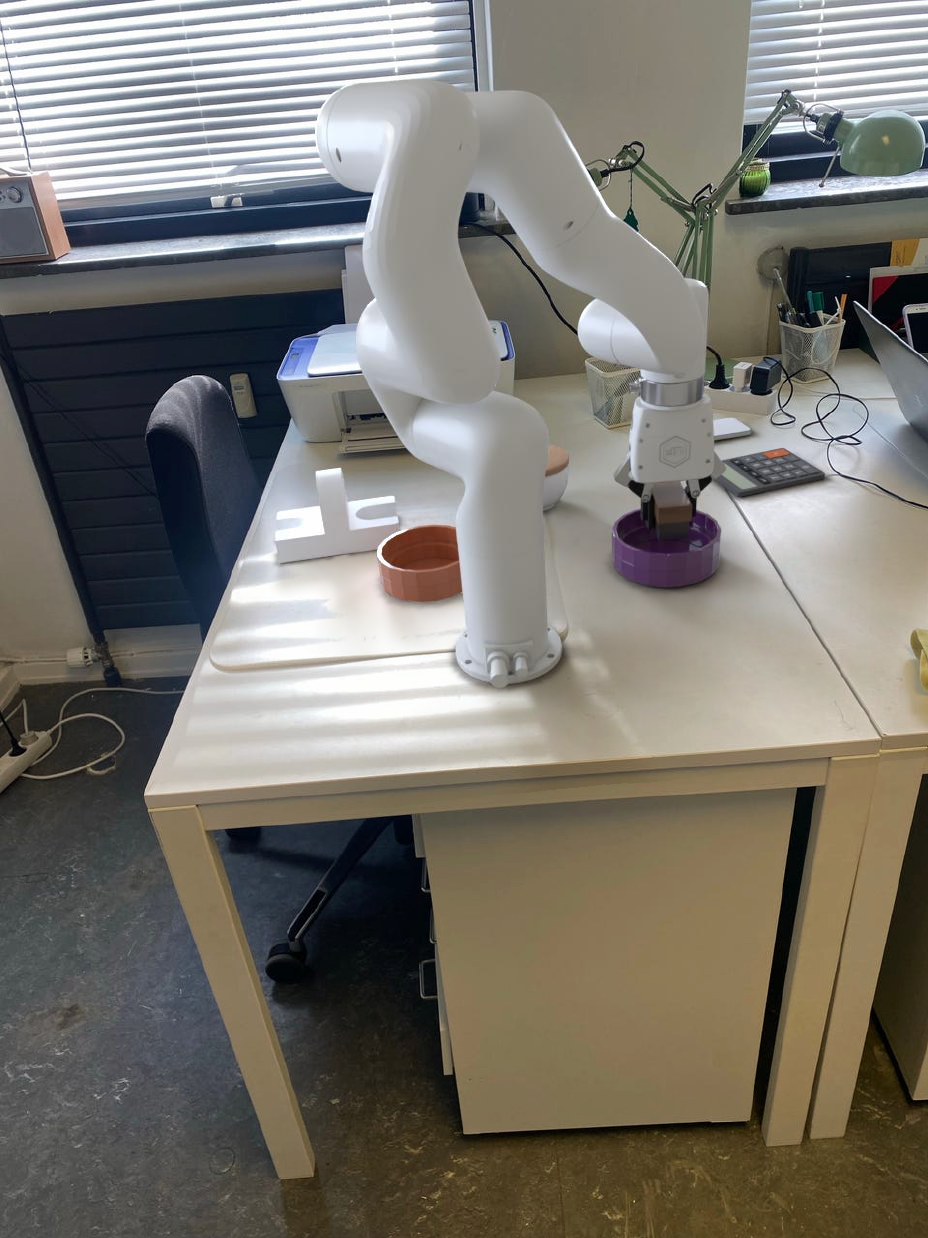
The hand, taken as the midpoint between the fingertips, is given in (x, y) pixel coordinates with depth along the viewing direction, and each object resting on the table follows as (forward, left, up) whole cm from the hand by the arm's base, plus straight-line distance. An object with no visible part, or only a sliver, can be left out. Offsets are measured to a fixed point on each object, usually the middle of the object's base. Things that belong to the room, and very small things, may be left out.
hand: (667, 521), depth 119 cm
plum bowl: (0, 0, -6) cm, 6 cm away
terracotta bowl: (0, +32, -6) cm, 33 cm away
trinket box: (+21, +16, -6) cm, 28 cm away
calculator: (+25, -20, -6) cm, 33 cm away
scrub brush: (0, 0, -1) cm, 1 cm away
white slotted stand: (+14, +46, -6) cm, 49 cm away
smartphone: (+43, -15, -6) cm, 46 cm away
